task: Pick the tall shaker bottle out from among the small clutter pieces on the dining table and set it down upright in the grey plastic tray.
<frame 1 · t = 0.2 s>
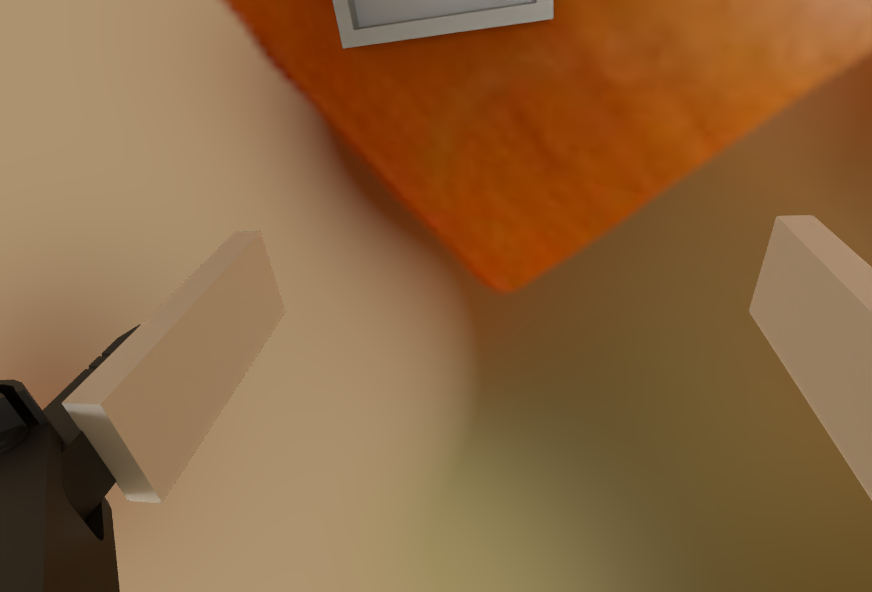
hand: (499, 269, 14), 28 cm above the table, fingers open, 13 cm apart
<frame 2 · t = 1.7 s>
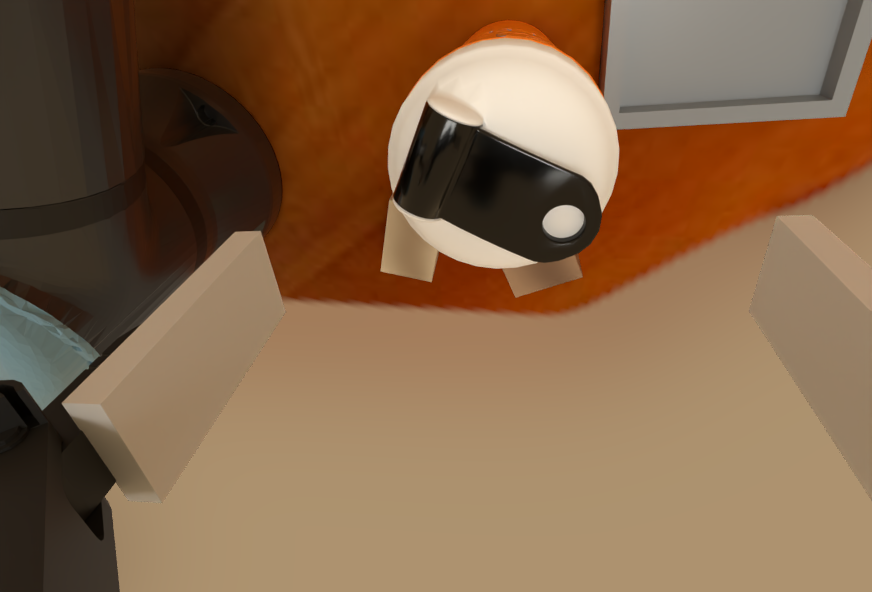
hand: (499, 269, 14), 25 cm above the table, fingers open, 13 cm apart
walnut block: (534, 227, 40), on the table
shaker bottle: (506, 78, 34), on the table
oak block: (419, 219, 41), on the table
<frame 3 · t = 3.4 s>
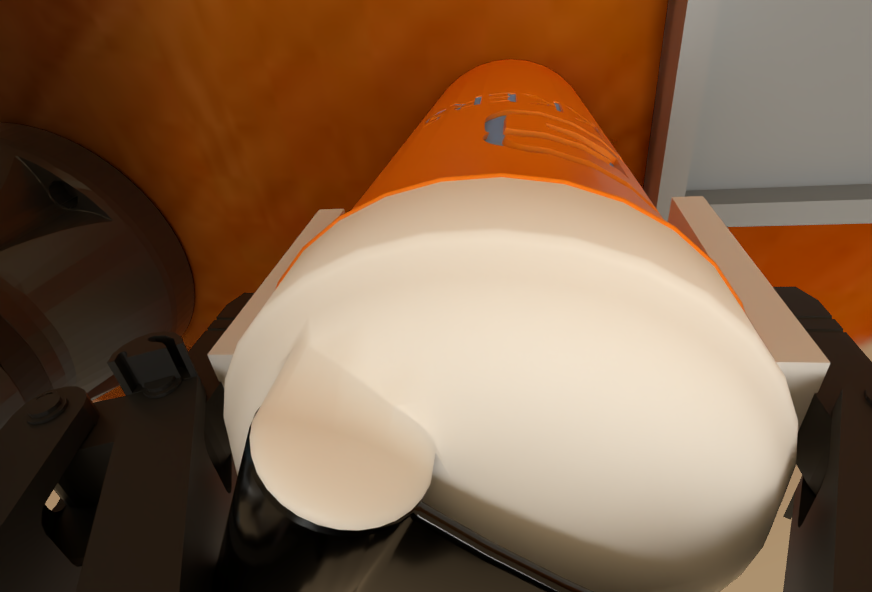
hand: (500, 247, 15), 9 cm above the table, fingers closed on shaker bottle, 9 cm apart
shaker bottle: (506, 144, 23), on the table, touching gripper
tray: (871, 14, 18), on the table
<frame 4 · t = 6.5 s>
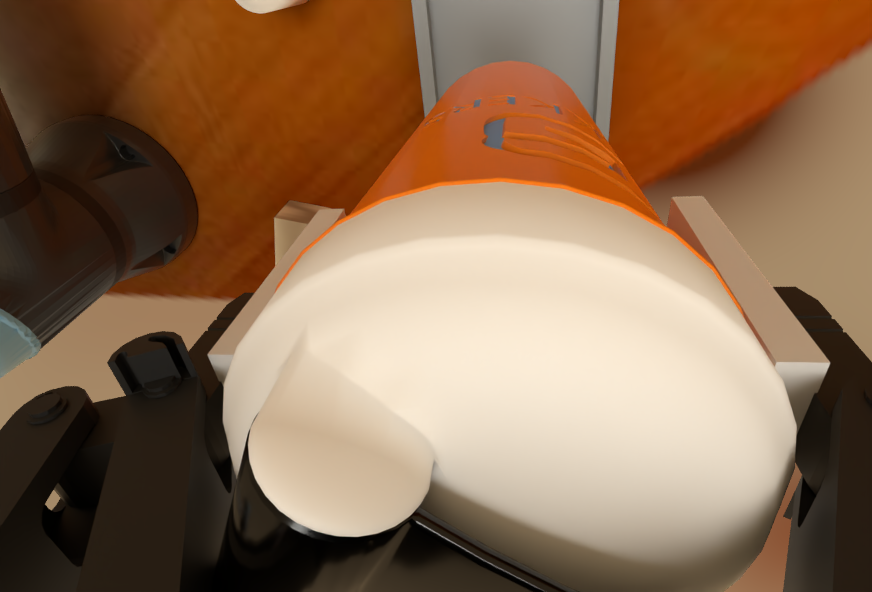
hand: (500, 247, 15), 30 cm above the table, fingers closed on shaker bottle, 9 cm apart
shaker bottle: (506, 145, 23), point 20 cm above the table, touching gripper
oak block: (310, 231, 50), on the table
tray: (514, 55, 39), on the table
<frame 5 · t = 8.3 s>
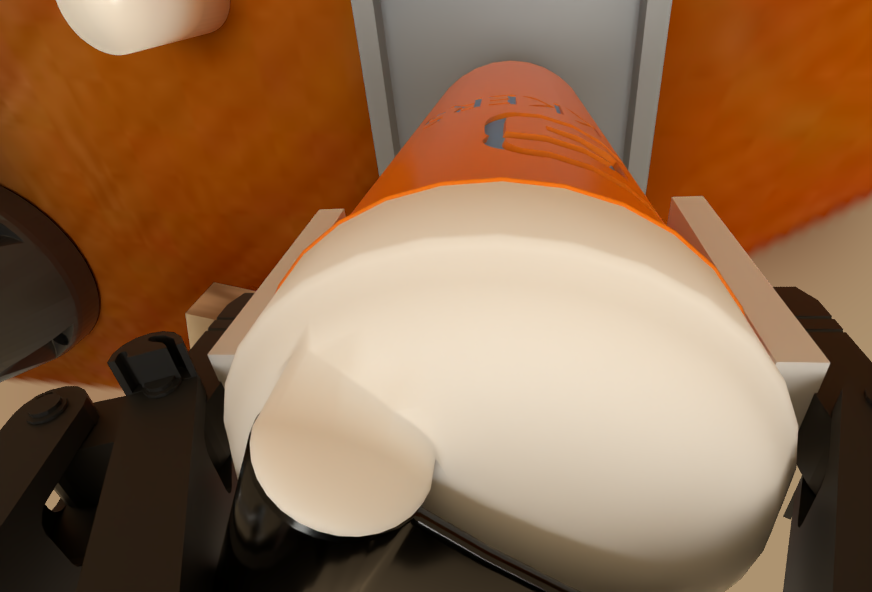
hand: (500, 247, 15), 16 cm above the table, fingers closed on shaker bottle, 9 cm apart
shaker bottle: (506, 145, 23), point 6 cm above the table, touching gripper
oak block: (243, 319, 38), on the table
tray: (508, 110, 27), on the table
when the fingers open (11 cm above the table, at t = 9.7 s): shaker bottle stays where it is, resting on tray.
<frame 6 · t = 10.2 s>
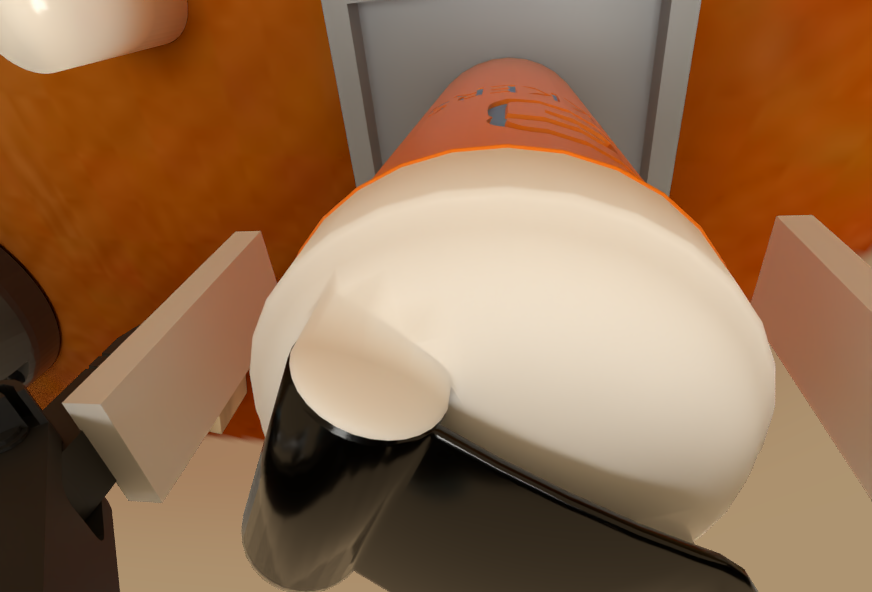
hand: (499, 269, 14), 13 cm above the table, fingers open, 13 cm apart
shaker bottle: (504, 139, 23), point 1 cm above the table, touching tray
oak block: (217, 354, 35), on the table
tray: (507, 132, 24), on the table
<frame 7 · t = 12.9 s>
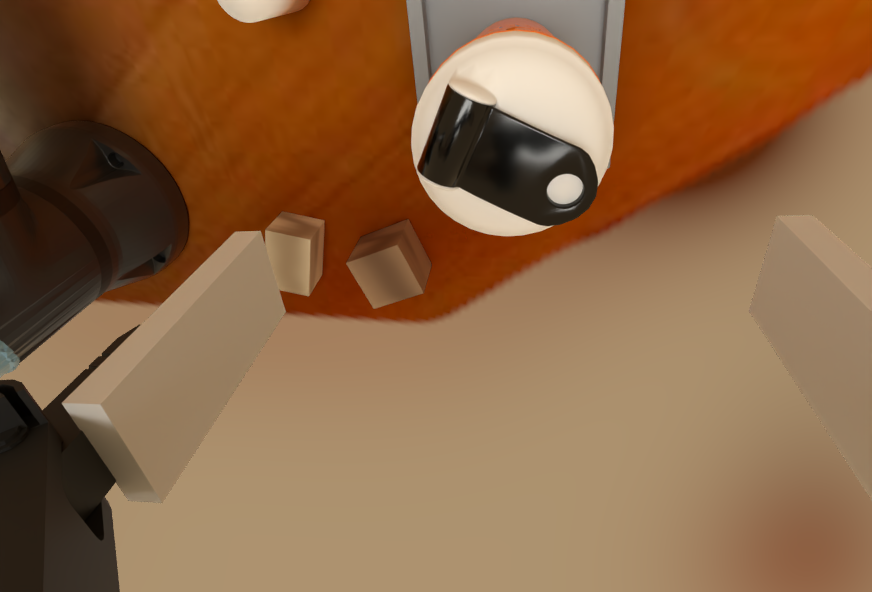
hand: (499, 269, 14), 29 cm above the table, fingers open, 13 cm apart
walnut block: (396, 250, 48), on the table
shaker bottle: (512, 72, 37), point 1 cm above the table, touching tray
oak block: (303, 243, 49), on the table
tray: (514, 68, 38), on the table
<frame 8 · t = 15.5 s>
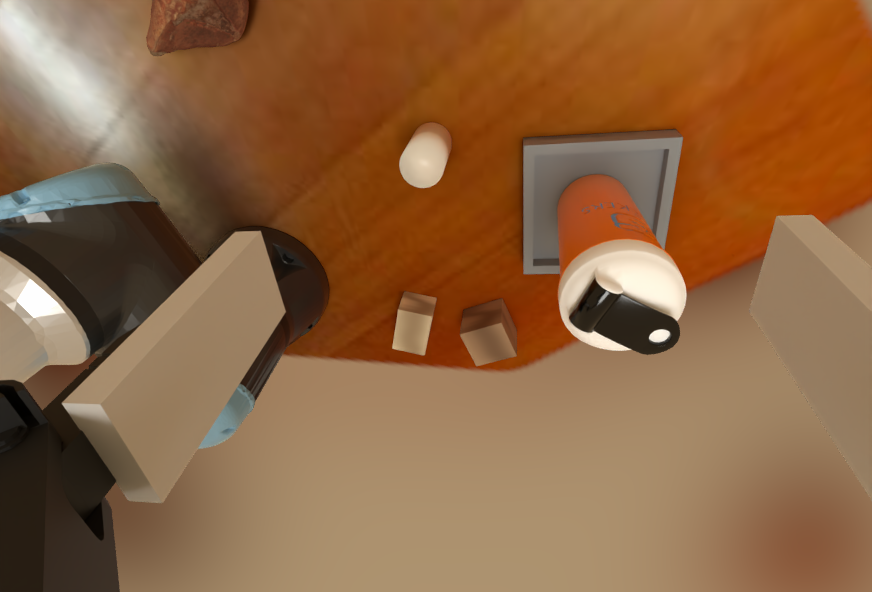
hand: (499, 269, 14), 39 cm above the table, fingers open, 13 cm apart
walnut block: (490, 319, 62), on the table
shaker bottle: (592, 206, 52), point 1 cm above the table, touching tray
oak block: (417, 313, 63), on the table
ceramic shaker: (432, 142, 51), on the table
tray: (592, 202, 52), on the table
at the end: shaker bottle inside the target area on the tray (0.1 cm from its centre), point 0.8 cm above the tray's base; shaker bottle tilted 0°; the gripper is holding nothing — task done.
